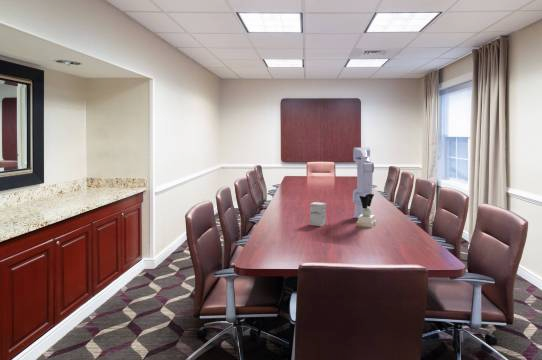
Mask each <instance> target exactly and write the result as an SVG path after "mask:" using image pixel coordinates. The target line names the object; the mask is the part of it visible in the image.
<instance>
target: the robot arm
mask: <svg viewBox="0 0 542 360" xmlns="http://www.w3.org/2000/svg"><path fill="white" fill-rule="evenodd" d="M352 151H353V155H352V156H353V158H352V159H353V162H355V164H356V175H357V176H356V181H357V182H356V183H357V184H356V186H357V188H355V189H354V190H353V191H352V202H353V203H354V216H352V219H353V218H354V219H358V216H360V215H361V214H363V208H365V209H367V208H368V207H369V208H370V207H371V205H372V202H373V198H374V196H375V194H374V193H373V178H374V177H373V173H374V171H375V165H374V162H372V161H371V158H370V156H371V148H370V147H353V150H352Z"/></svg>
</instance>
